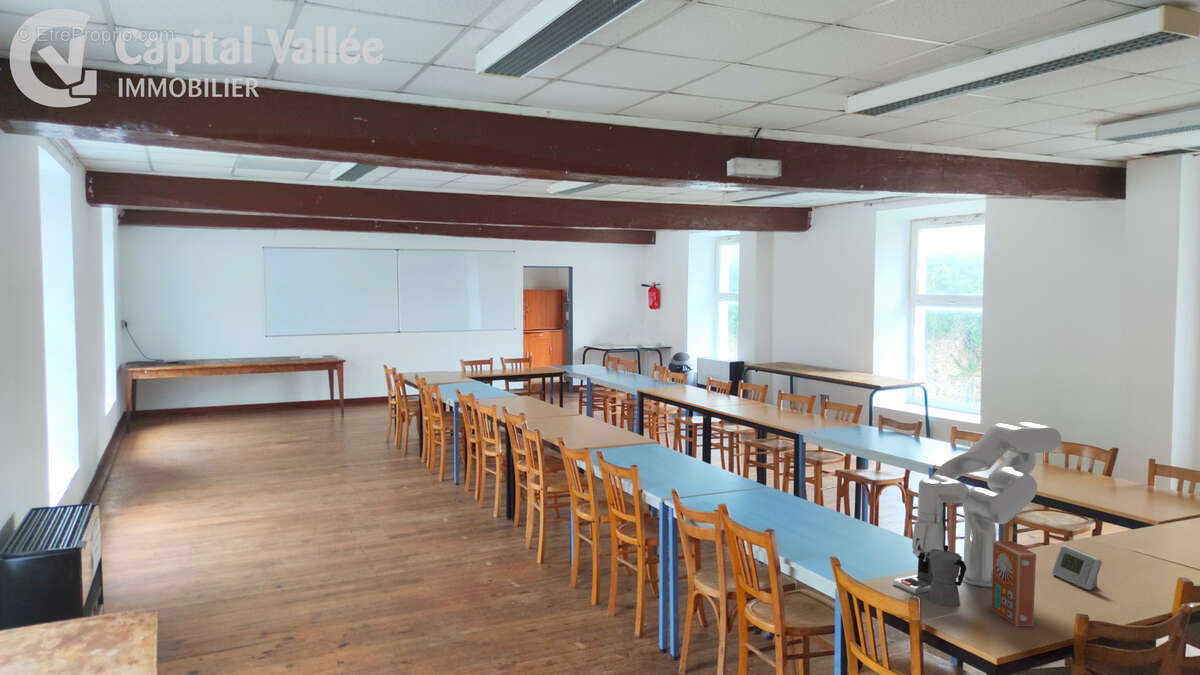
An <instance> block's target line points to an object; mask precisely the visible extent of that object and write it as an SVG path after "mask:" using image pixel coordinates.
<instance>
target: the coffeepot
mask: <svg viewBox="0 0 1200 675" xmlns="http://www.w3.org/2000/svg"><path fill="white" fill-rule="evenodd" d="M943 548H944V549H943V550H938V549H933V550H931V549H930V550H931V552H929V553H930V561H931V570H932V574H933V579H932V582H931V587H930V591H928V592H929V593H928V595H927V598H928V600H929V601H930V602H931V603H933V604H936V605H938V606H942V607H957V606H959V605H961V600H960V593H959V587H960V586H962V583H963V578H964V575H965V572H966V565H965V563H964V560H963V557H962V556H961V555H960V554H959V553H957V552H954V551H950V550H949V548H950V546H949V545H947V544H943ZM959 573H960V574H959ZM958 575H959V576H958Z"/></svg>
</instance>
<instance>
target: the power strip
mask: <svg viewBox="0 0 1200 675" xmlns="http://www.w3.org/2000/svg"><path fill="white" fill-rule="evenodd" d="M931 582H932V581H927V580H925V579H922V578H920V577H918V573H917V574H913V575H908V576H904V577H903V576H902V577H899V578H894V579H893V581H892V584H893V585H892V586H895V587H898V588H900V589H903V590H905V591H907V592H910V593H912V594H914V595H918V594H923V593H927V592H929V591H930V587H931Z"/></svg>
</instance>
